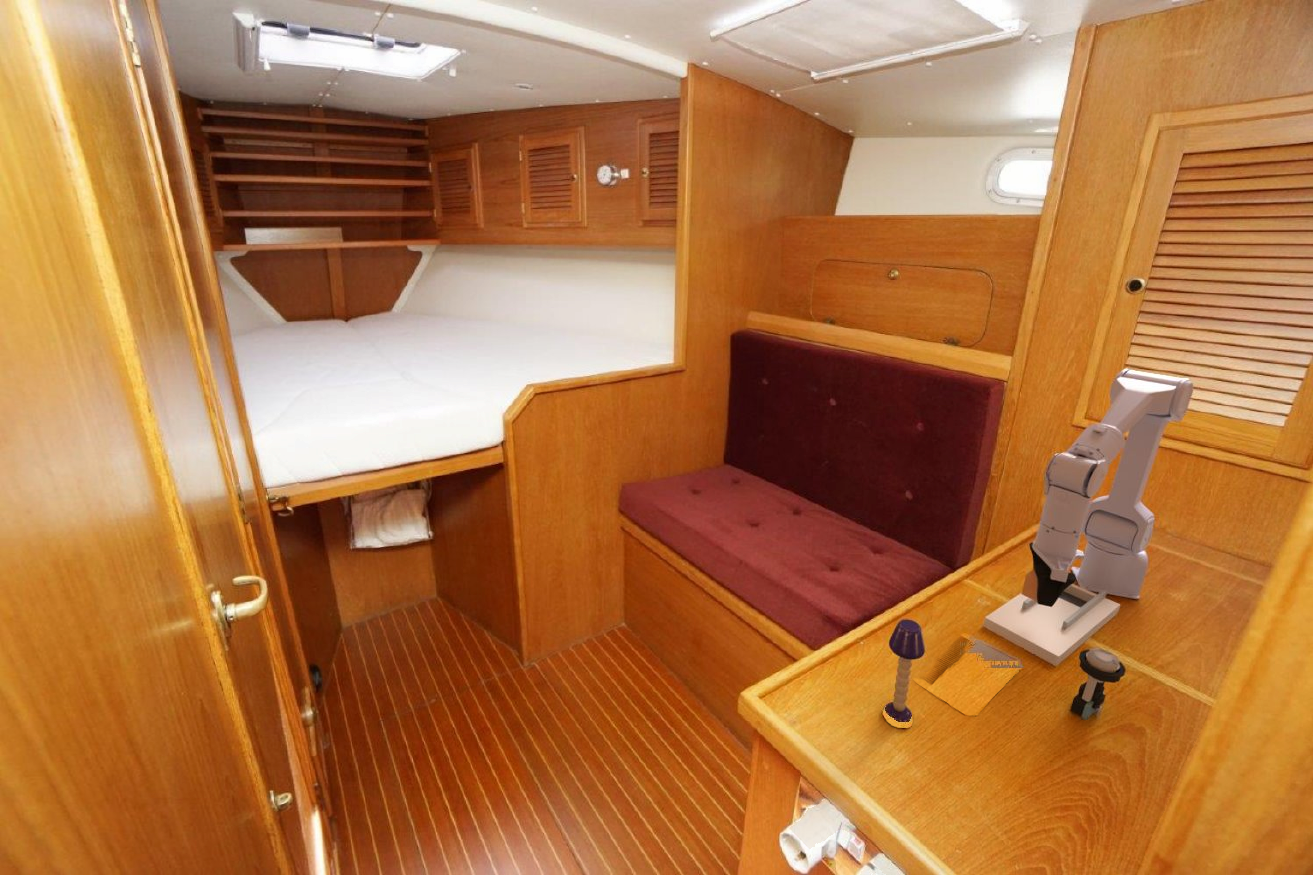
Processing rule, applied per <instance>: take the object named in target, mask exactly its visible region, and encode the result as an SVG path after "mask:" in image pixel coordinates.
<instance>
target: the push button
mask: <svg viewBox="0 0 1313 875" xmlns="http://www.w3.org/2000/svg"><path fill="white" fill-rule="evenodd" d="M1078 659H1079V661H1080V662H1079V667H1080V669H1081V670H1082V672H1084V673H1085V674H1087V676H1088V677H1087V680H1086V681H1085V682H1084V683H1082V684H1080V686H1079V689H1078V694H1076V695H1075V696H1074V697H1073V699H1072V701H1071V705H1070V709H1069V710H1070V712H1072V713H1074V714H1075V715H1076V716H1078V717H1080V718H1081V719H1083V720H1085V721H1086V720H1088V719H1089V718H1090V717H1092V715H1093V714H1095V713H1096V715H1095V717H1096V718H1099V716H1100V715H1101V713H1102V709H1103V706H1102V705H1103V704H1104V703H1105V702H1104V701H1105V699H1106V697H1107V696H1106V694H1105V692H1104V691H1105V689H1106V688H1105V686H1104V685H1105V683H1112V684H1116V683H1118V682H1120V681H1121V678H1122V677H1124V676H1125V673H1126V667H1125V665H1124V664H1123V663H1122V662H1121V661H1120V660H1119V659H1120V658H1118V657H1117V656H1116V655H1115V654H1114V653H1112V652H1111V651H1108V650H1105V649H1103V648H1097V647H1094V648H1090V649H1083V650H1082V651H1080V652H1079V655H1078Z"/></svg>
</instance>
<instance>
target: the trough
mask: <svg viewBox="0 0 1313 875" xmlns="http://www.w3.org/2000/svg"><path fill="white" fill-rule="evenodd" d="M1021 593H1022V592H1021ZM1021 593H1019V594H1017V595H1016V596H1015V597H1013V598H1011V599H1010V600H1008V601H1006V603H1004V604H1002V605H1001V606H1000V607H999V608H997V609H995V610H994V611H992V612H991V613H989V614H988V615H986V616H985V617H984V621H983V625H982V627H983V628H985V627H986V628H985V629H987V630H989V631H991V632H993V633H994V632H995V633H994V634H996V633H997V634H996V635H998V636H1000V637H1001V636H1002V637H1001V638H1003V637H1004V638H1003V639H1004V640H1007V641H1009V642H1011V643H1013V644H1014V645H1016V646H1018V647H1019V648H1022V647H1023V648H1024V649H1023V648H1022V649H1023V650H1025V649H1026V650H1025V651H1027V650H1028V651H1027V652H1029V653H1031V654H1033V655H1034V654H1035V655H1034V656H1037V657H1038V658H1040V659H1042V660H1043V661H1046V662H1048V663H1049V664H1051V665H1053V666H1055V667H1057V666H1058V665H1059V664H1061V663H1062V662H1063V661H1064V660H1065V659H1067V658H1068V657H1069V656H1070V655H1071V654H1072V653H1074V652H1075V651H1076V650H1077V649H1078V648H1079V647H1080V646H1081V645H1083V644H1084V643H1085V642H1086V641H1087V640H1089V639H1090V638H1091V637H1092V636H1093V635H1094V634H1096V633H1097V632H1098V631H1099V630H1100V629H1101V628H1102V627H1104V626H1105V625H1106V624H1107V623H1108V622H1110V620H1112V619H1113V618H1115V616H1116V615H1118V613H1119V610H1120V607H1121V604H1120V603H1117V601H1114V600H1111V599H1108V598H1106V597H1107V595H1108V594H1107V591H1106V590H1103V591H1101V592H1100V593H1099V592H1098V594H1097V593H1096V592H1093V591H1088V590H1086V589H1084V588H1081V587H1080V586H1079V585H1076V584H1075V583H1073V584H1072V585H1070V586H1068V587H1067V588H1066V589H1065V590H1064V591H1063V592H1062V593H1061V595H1060V596H1059V598H1058V599H1057V601H1056V602H1055V604H1054V605H1053V606H1052V607H1049V606H1045V605H1040V604H1038V602H1037V601H1035V600H1033V599H1030V598H1028V597H1026V596H1024V595H1022V594H1021Z"/></svg>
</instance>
